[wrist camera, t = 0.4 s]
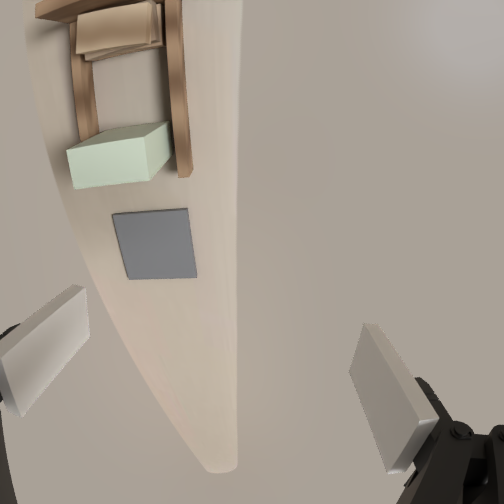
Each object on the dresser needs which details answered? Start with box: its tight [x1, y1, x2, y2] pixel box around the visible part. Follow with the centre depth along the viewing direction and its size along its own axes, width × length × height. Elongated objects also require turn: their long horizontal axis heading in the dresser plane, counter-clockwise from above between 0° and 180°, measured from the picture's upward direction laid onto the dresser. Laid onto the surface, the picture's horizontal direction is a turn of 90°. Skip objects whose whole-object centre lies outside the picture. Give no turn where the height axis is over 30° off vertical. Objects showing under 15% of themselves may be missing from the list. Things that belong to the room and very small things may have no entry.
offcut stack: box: [76, 0, 167, 61], centre depth 25 cm, size 5×9×6 cm, turn 92°
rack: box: [35, 0, 193, 178], centre depth 27 cm, size 22×12×10 cm, turn 2°
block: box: [66, 121, 173, 190], centre depth 31 cm, size 4×8×10 cm, turn 92°
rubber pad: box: [113, 208, 197, 280], centre depth 42 cm, size 10×10×1 cm
